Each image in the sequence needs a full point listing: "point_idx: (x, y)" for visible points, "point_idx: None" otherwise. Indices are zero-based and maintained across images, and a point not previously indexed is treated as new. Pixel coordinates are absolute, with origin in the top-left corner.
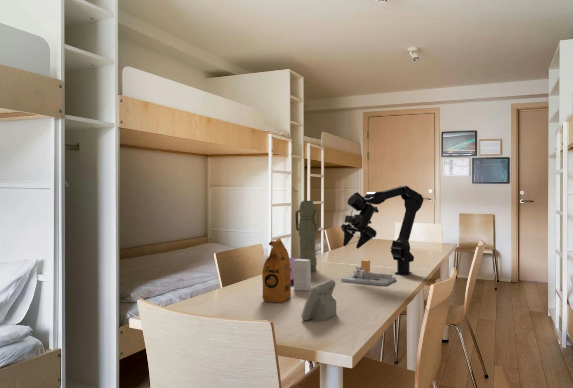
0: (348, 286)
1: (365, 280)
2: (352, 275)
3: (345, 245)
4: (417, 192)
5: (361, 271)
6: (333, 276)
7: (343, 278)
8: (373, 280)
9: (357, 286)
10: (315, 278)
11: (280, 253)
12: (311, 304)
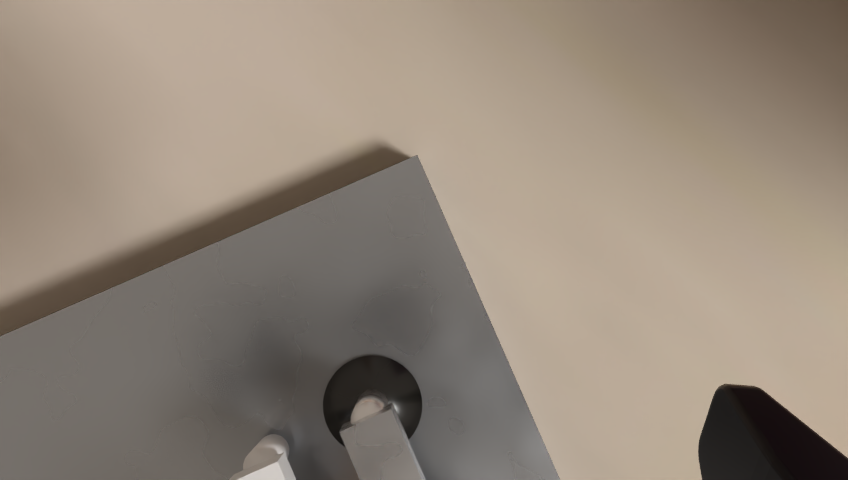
0: (103, 15)
1: (90, 352)
2: (509, 473)
3: (709, 476)
4: None
5: (250, 471)
6: (786, 326)
7: (412, 196)
8: (14, 448)
9: (26, 112)
10: (824, 11)
11: None
12: None
